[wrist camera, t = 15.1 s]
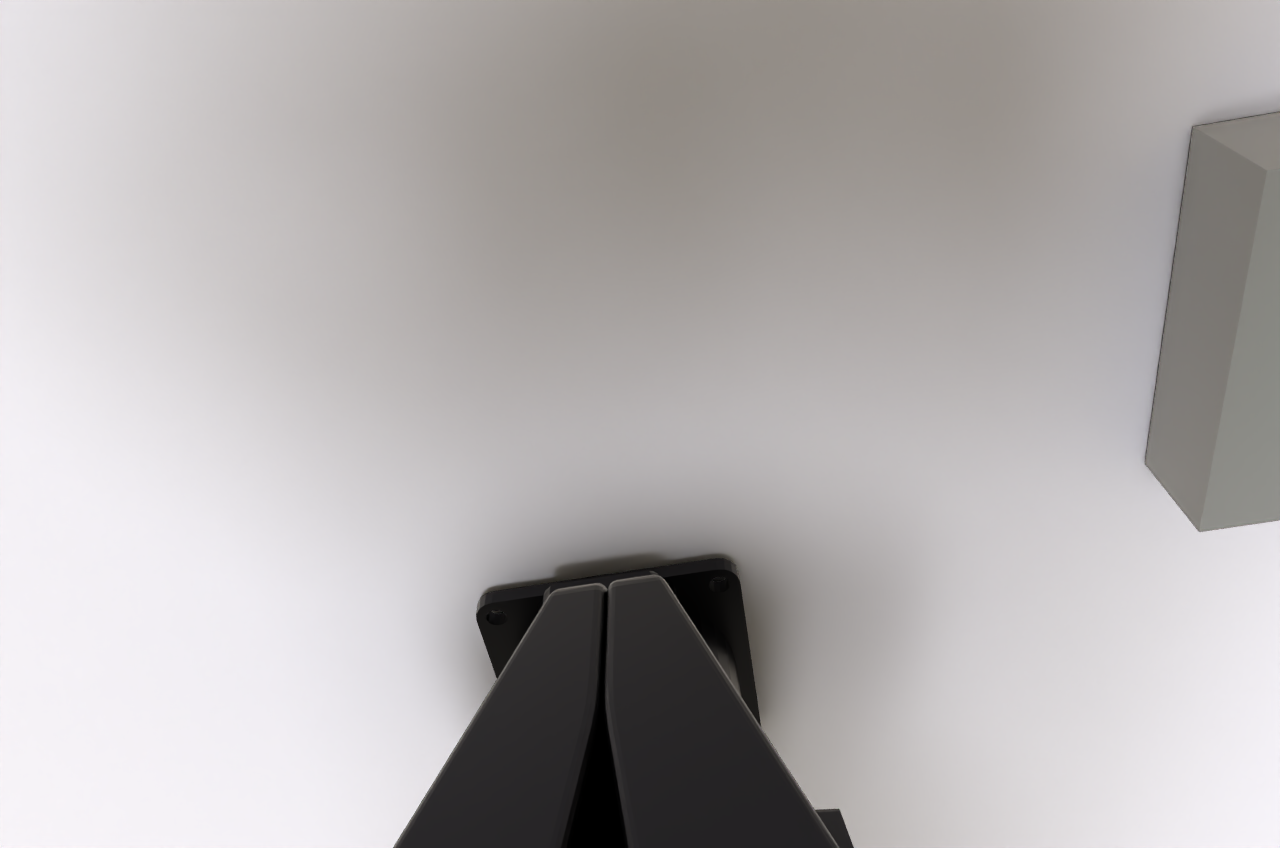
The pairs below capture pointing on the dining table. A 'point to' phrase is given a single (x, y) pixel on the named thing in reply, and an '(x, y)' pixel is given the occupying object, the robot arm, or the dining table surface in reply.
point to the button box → (1223, 333)
